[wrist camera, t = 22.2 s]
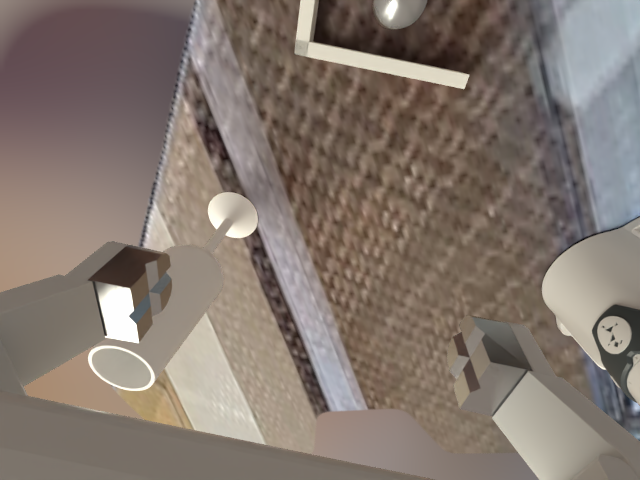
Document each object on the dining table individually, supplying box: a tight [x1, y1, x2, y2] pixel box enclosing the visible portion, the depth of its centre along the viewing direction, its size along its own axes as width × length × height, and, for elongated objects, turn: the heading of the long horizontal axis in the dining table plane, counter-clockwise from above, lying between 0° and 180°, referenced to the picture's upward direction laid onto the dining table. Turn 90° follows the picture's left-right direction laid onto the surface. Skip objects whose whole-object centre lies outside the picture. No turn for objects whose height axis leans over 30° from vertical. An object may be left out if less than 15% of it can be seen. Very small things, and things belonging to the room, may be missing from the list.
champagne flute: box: [88, 192, 258, 391], centre depth 34 cm, size 7×7×24 cm
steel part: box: [373, 0, 427, 30], centre depth 29 cm, size 4×4×6 cm
